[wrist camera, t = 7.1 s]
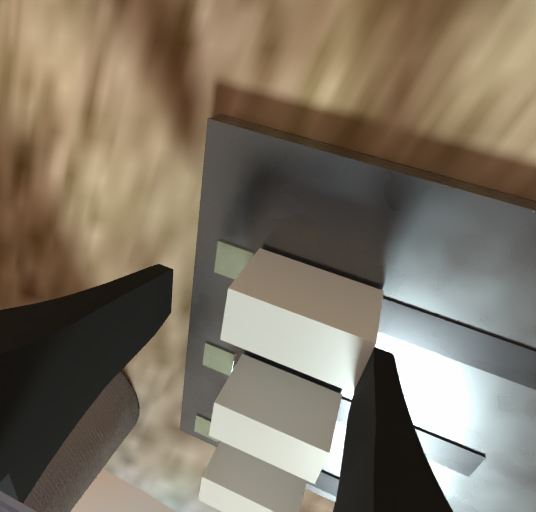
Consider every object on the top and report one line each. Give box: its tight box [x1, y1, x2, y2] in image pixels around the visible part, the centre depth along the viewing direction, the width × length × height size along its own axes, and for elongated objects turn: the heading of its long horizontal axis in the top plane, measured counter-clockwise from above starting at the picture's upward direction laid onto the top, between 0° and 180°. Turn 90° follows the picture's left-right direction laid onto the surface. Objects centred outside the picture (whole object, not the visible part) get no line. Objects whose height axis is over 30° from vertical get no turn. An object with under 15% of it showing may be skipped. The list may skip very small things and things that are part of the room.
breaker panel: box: [180, 114, 536, 512], centre depth 17 cm, size 18×19×1 cm
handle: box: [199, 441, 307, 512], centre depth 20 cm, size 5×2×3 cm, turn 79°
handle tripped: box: [220, 248, 384, 393], centre depth 14 cm, size 5×2×3 cm, turn 79°
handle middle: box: [209, 354, 342, 484], centre depth 17 cm, size 5×2×3 cm, turn 79°
